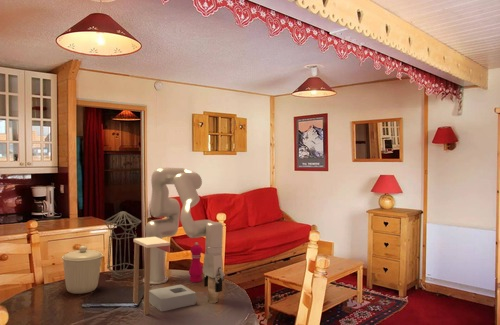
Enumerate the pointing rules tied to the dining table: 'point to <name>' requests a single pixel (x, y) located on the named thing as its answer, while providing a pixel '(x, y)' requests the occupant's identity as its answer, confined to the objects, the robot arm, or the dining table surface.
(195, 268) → the pepper mill
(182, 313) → the dining table surface
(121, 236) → the geometric lantern
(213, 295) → the peg
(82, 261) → the canister
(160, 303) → the socket block
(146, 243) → the small side table
